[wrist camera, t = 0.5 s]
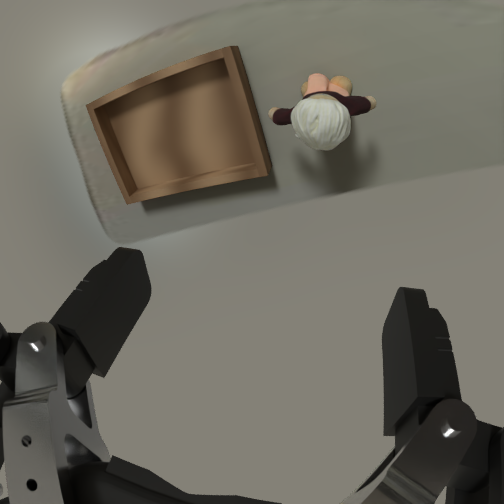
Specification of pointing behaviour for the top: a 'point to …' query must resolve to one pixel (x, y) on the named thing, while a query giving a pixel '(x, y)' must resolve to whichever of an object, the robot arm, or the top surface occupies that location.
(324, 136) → the grandmother figurine
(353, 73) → the top surface
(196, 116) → the walnut tray
